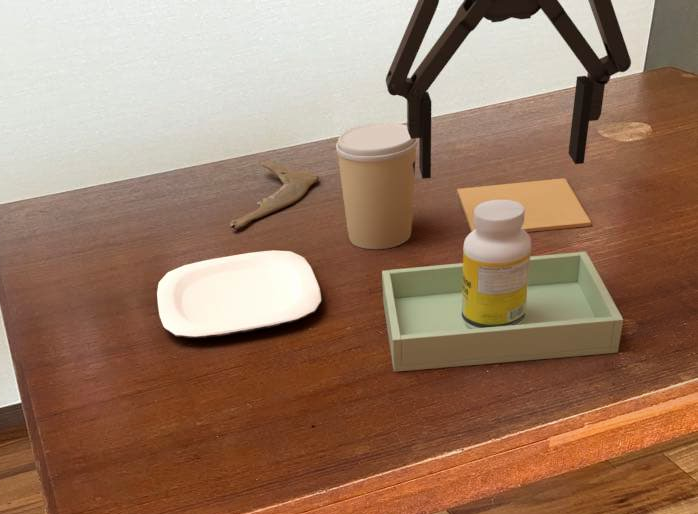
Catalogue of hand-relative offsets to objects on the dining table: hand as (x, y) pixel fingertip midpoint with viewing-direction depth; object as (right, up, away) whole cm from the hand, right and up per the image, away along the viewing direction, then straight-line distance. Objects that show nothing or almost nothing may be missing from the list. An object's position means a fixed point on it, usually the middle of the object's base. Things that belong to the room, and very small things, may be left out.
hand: (500, 166), depth 81 cm
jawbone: (-24, +13, +42) cm, 50 cm away
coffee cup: (-8, +4, +29) cm, 31 cm away
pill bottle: (+2, -12, +11) cm, 16 cm away
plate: (-25, -7, +20) cm, 33 cm away
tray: (+2, -12, +11) cm, 16 cm away
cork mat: (+10, +8, +31) cm, 33 cm away
